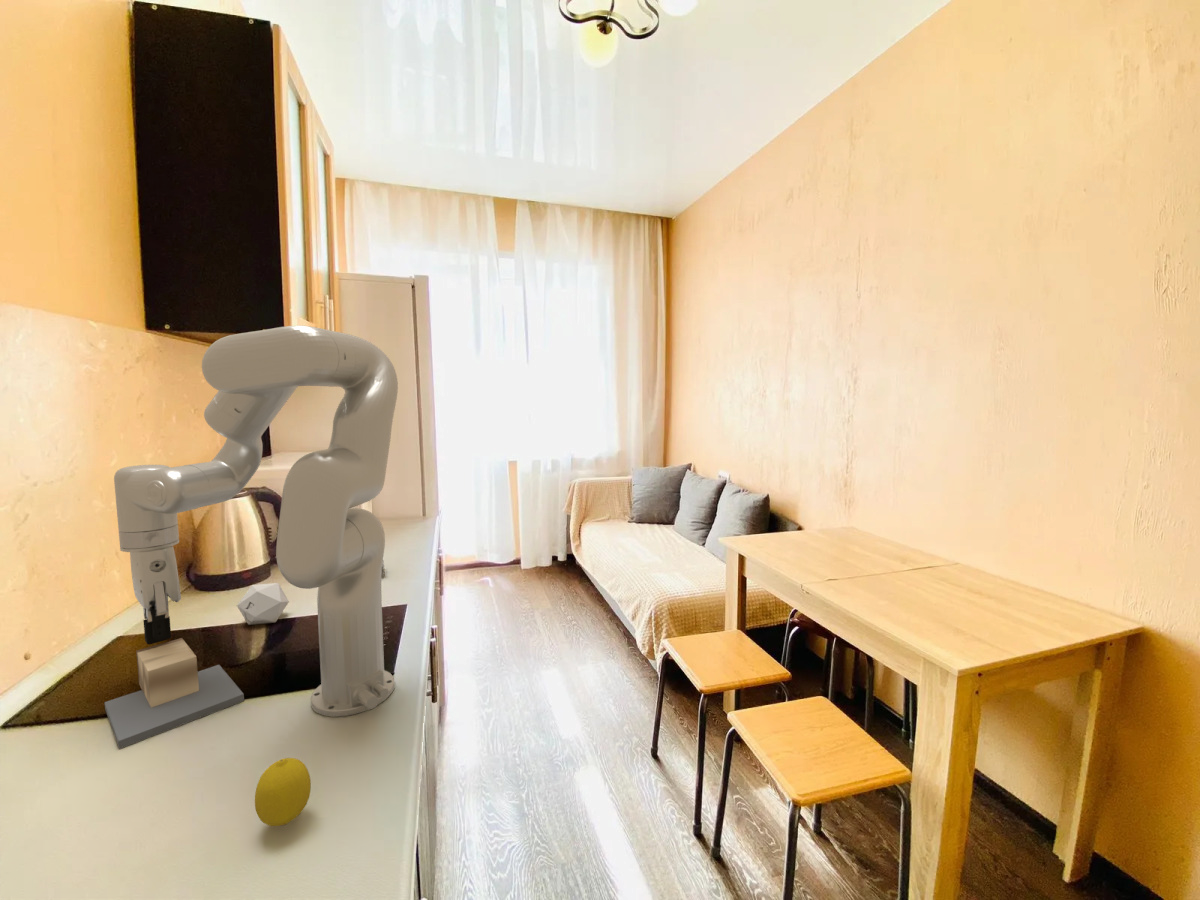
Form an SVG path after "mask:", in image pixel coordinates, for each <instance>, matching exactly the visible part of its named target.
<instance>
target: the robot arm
mask: <svg viewBox="0 0 1200 900" xmlns="http://www.w3.org/2000/svg"><path fill="white" fill-rule="evenodd" d="M201 371H202V374H203V377H204V379H205V380H206V383H208V384H209V385H210V386H211V388H213V389H215V390H217V393H216V394H215V395H214V397H213V398H212V400H210V402H208V404H207V406H206V407H205V409H204V411H203V418H204V420H205V422H206V423H207V424H208V426H209V427H210V428H211V429H212V430H213V431H214V432H216V433H218V434H219V435H220V436H222V437H224V438H226V440H225V442H224V444H223V445H222V447H221V449H219V451H218V453H217V454H216V455H215V457H214V458H213V459H212V460H211V461H208V462H207V461H205V462H198V463H191V464H185V465H181V466H180V465H179V466H171V467H170V466H168V465H164V464H141V465H139V464H138V465H131V466H125V467H122V468H119V469H118V470H117V471H115V473H114V478H113V481H114V482H113V483H114V493H115V505H116V506H115V507H116V515H117V516H116V518H117V528H118V538H119V539H118V540H119V541H118V542H119V550H120V552H123V553H124V552H125V553H129V557H130V571H131V580H132V586H133V592H134V596H135V598H136V600H137V602H138V603H139V604H140V605H141V607H142V609H143V617H144V619H143V621H142V622H143V632H144V641H145V642H146V644H147V645H154V644H157V643H160V642H164V641H167V640H170V639H171V637H172V629H171V619H170V618H171V617H170V615H169V614H170V613H169V612H170V611H169V599H170V600H171V601H172V602H176V603H179V602H180V601H182V596H181V595H182V594H181V588H180V580H179V579H180V578H179V570H178V564H177V557H176V552H175V548H174V546H175V545H177V544H179V543H180V538H179V537H180V535H179V524H178V522H179V521H178V514H179V513H184V512H187V511H192V510H196V509H200V508H203V507H207V506H211V505H216V504H220V503H225V502H227V501H229V500H232V499H233V498H234V497H235V496H237V495H238V494H239V493H241V491H242V490H243V489H244V488H245V487H246V486H247V484H248V483H249V481H250V480H251V479H252V478H253V476H255V474H256V472H258V471H257V470H258V469H259V467H260V465H261V462H262V457H263V450H264V449H263V446H264V445H263V441H262V436H263V434H264V433H265V432H266V431H267V429H268V427H269V426H270V425H271V423H272V422H273V421H274V419H276V417H277V415H278V414H279V413H280V411H281V410H282V408H284V406H285V405H286V403H287V402H288V400H289V399H290V398H291V396H292V395H293V393H294V392H295V391H296V390H297V388H298V387H309V386H310V387H328V388H330V387H332V388H333V387H337V388H342V389H343V390H344V395H343V397H342V399H341V400H340V402H339V404H338V406H337V408H336V411H335V412H334V417H333V421H332V431H331V438H330V443H329V444H328V445H329V446H328V448H327V449H321V450H317V451H312V452H309V453H307V454H304V455H303V456H301V457H300V458H299V459H298V460H296V461H295V462H294V463H293V465H292V466H291V468H290V469H289V471H288V472H287V475H286V478H285V480H284V483H283V489H282V494H281V503H280V512H279V519H278V528H277V537H276V548H275V555H276V556H275V557H276V563H277V568H278V570H279V572H280V574H281V576H282V577H283V578H284V579H285V580H286V582H288V583H289V584H290V585H292V586H293V587H295V588H299V589H303V590H304V589H309V590H311V589H317V588H318V589H317V596H316V597H317V598H316V600H317V601H316V602H317V625H318V645H319V665H320V683H321V684H319V685H318V686H317V687H316V688H315V689H314V691H313V692H312V694H311V696H310V704H311V708H312V709H313V711H314V712H316V713H317V714H320V715H323V716H327V717H344V716H351V715H356V714H359V713H363V712H365V711H368V710H372V709H374V708H376V707H377V706H378V705H380V704H381V703H383V702H384V701H385V700H386V699H387V698H388V697H390V695H391V694H392V693H393V691H394V689H395V678H394V676H393V675H392V674H391V672H390V671H387V670H385V659H384V656H385V655H384V654H385V653H384V639H383V638H384V633H383V632H384V629H383V627H384V626H383V605H382V604H383V603H382V601H383V600H382V596H383V595H382V578H381V573H382V562H383V561H384V554H385V547H386V544H385V543H386V535H385V530H384V526H383V524H382V521H381V520H380V518H378V517H377V515H375V514H374V513H372V512H371V511H369V510H366V509H363V508H357V506H360V505H363V504H365V503H367V502H370V501H372V500H373V499H375V498H377V497H378V496H379V495H380V493H381V492H382V490H383V488H384V485H385V480H386V472H387V465H388V459H389V453H390V447H391V438H392V429H393V428H392V427H393V422H394V415H395V414H394V413H395V411H396V406H397V400H398V391H399V390H398V389H399V387H398V384H399V383H398V376H397V371H396V369H395V366H394V365H393V362H392V361H391V359H390V357H388V356H387V354H386V353H385V352H384V351H383V350H382V349H381V348H379V347H378V346H376V345H375V344H373V343H372V342H371V341H368V340H367V339H364V338H361V337H359V336H356V335H352V334H348V333H343V332H339V331H335V330H329V329H324V328H320V327H317V326H311V325H309V326H308V325H287V326H279V327H274V328H267V329H263V330H255V331H248V332H241V333H237V334H236V333H235V334H230V335H227V336H223V337H221V338H219V339H217V340H215V341H214V342H213V343H212V344H210V345H209V346H208V348H207V349H206V351H205V352H204V354H203V357H202V360H201Z"/></svg>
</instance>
